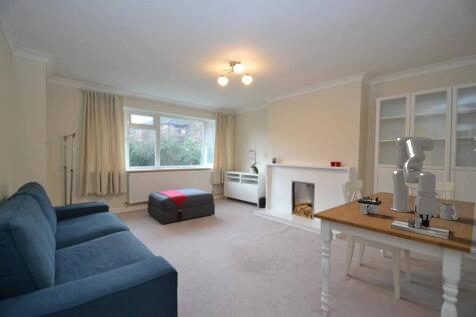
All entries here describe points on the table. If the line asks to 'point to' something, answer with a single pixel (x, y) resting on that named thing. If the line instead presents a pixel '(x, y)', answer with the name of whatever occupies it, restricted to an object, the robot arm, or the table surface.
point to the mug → (449, 211)
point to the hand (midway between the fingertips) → (425, 226)
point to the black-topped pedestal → (369, 205)
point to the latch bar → (418, 223)
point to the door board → (421, 228)
